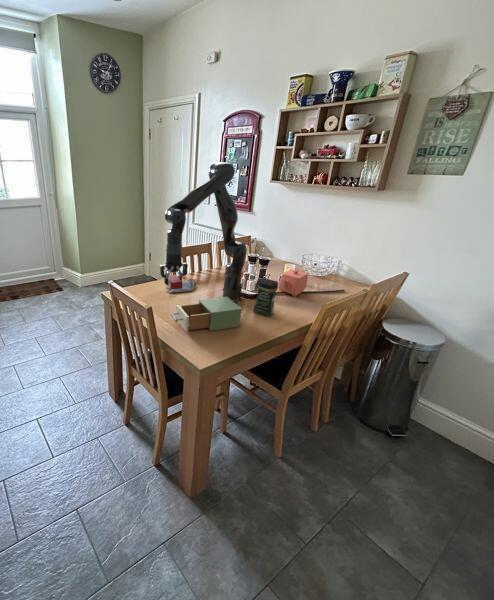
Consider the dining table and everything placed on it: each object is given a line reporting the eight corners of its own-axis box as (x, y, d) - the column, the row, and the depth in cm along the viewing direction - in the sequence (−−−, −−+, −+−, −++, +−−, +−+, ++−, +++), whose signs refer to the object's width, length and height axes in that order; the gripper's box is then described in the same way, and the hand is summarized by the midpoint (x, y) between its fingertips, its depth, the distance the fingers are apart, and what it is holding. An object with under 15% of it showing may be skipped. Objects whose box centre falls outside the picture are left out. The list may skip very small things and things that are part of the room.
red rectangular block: (175, 281, 169) (175, 274, 167) (182, 288, 160) (182, 281, 158) (164, 282, 167) (164, 275, 165) (170, 289, 158) (170, 282, 157)
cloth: (176, 296, 190) (176, 292, 189) (161, 289, 200) (161, 285, 199) (206, 286, 206) (207, 282, 205) (191, 279, 215) (191, 276, 214)
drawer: (177, 333, 150) (178, 318, 147) (167, 319, 162) (168, 305, 158) (214, 327, 155) (215, 313, 152) (202, 315, 167) (203, 301, 164)
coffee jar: (251, 312, 173) (256, 279, 166) (257, 307, 179) (262, 275, 171) (268, 317, 168) (274, 284, 160) (275, 312, 173) (281, 279, 166)
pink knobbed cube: (292, 300, 188) (297, 277, 182) (272, 294, 196) (276, 271, 190) (308, 290, 202) (313, 269, 196) (289, 285, 210) (293, 264, 204)
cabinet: (210, 330, 154) (211, 312, 150) (197, 317, 167) (199, 299, 163) (239, 326, 159) (241, 308, 155) (225, 313, 171) (227, 296, 167)
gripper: (162, 254, 151) (161, 288, 158) (191, 252, 155) (189, 285, 162) (157, 250, 157) (157, 282, 164) (185, 248, 161) (184, 280, 168)
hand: (173, 284), depth 163 cm, fingers closed on red rectangular block, 6 cm apart
